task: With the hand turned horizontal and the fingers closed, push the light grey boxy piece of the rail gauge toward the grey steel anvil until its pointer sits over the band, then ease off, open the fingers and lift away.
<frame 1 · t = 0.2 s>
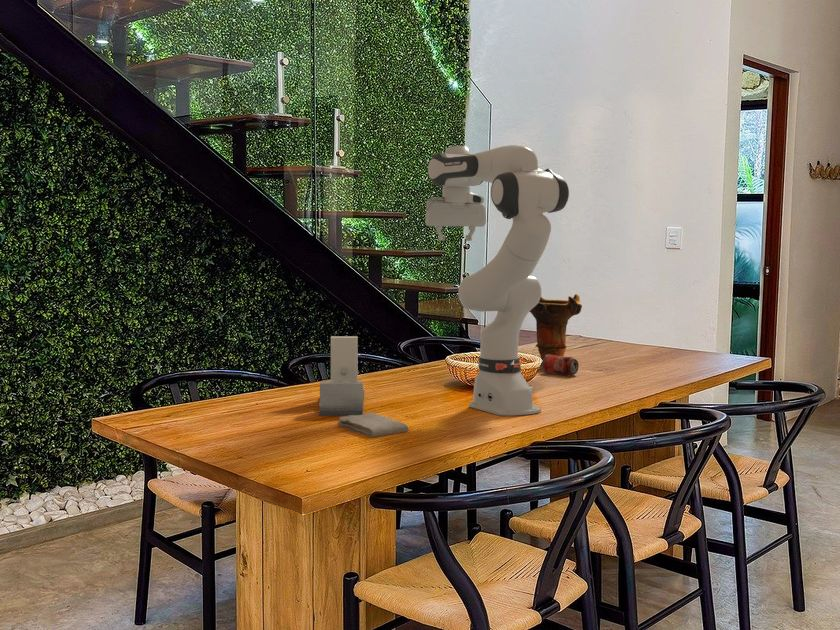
hand: (455, 240, 287), 48 cm above the table, tool pointing down, fingers open, 8 cm apart
washcloth: (371, 430, 233), on the table
decorative vase: (550, 361, 351), on the table
light grey boxy piece: (340, 365, 269), point 11 cm above the table, slide at 0.0 cm
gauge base: (343, 404, 262), on the table
beverage can: (561, 375, 320), on the table
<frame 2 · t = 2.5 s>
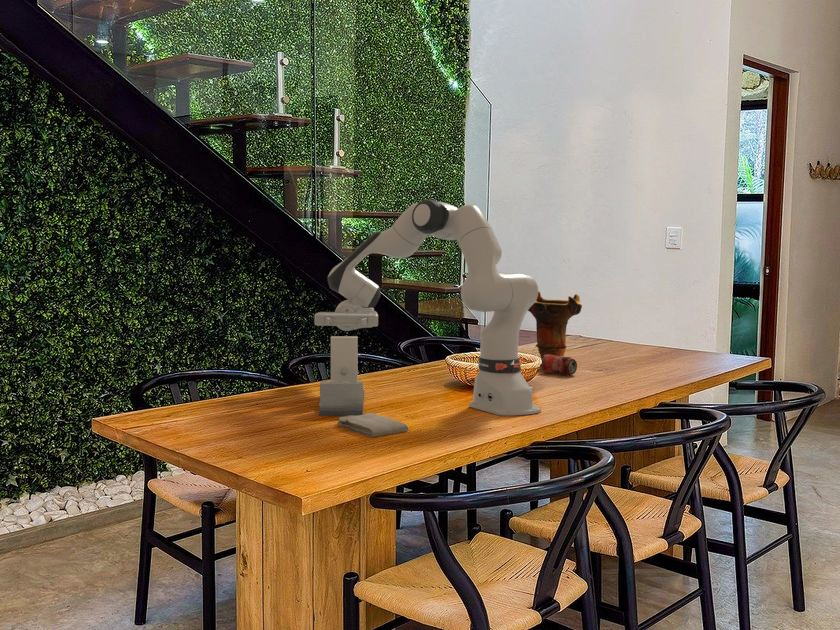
hand: (345, 322, 276), 23 cm above the table, tool horizontal, fingers open, 8 cm apart
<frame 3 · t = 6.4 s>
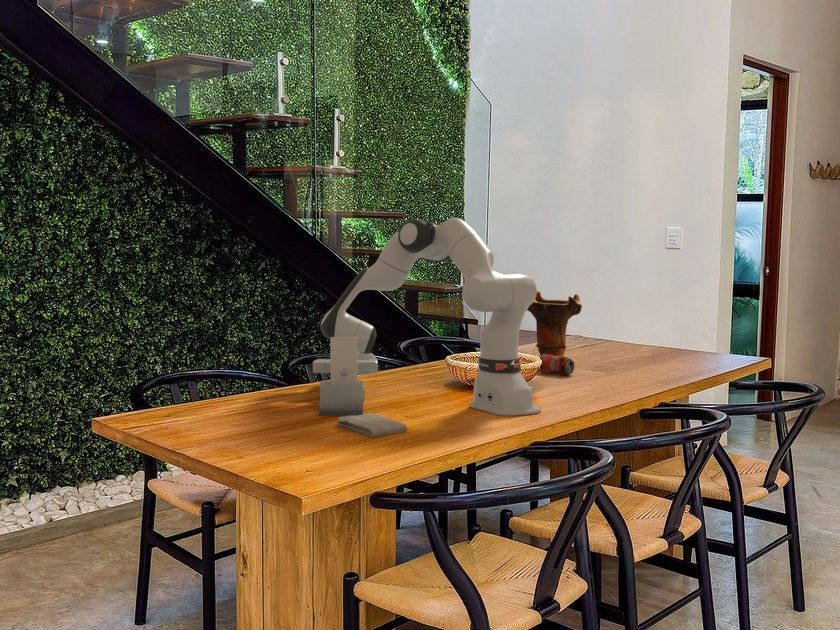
hand: (344, 370, 270), 9 cm above the table, tool horizontal, fingers closed, pressing on light grey boxy piece
light grey boxy piece: (340, 365, 268), point 11 cm above the table, slide at 1.6 cm, touching gripper
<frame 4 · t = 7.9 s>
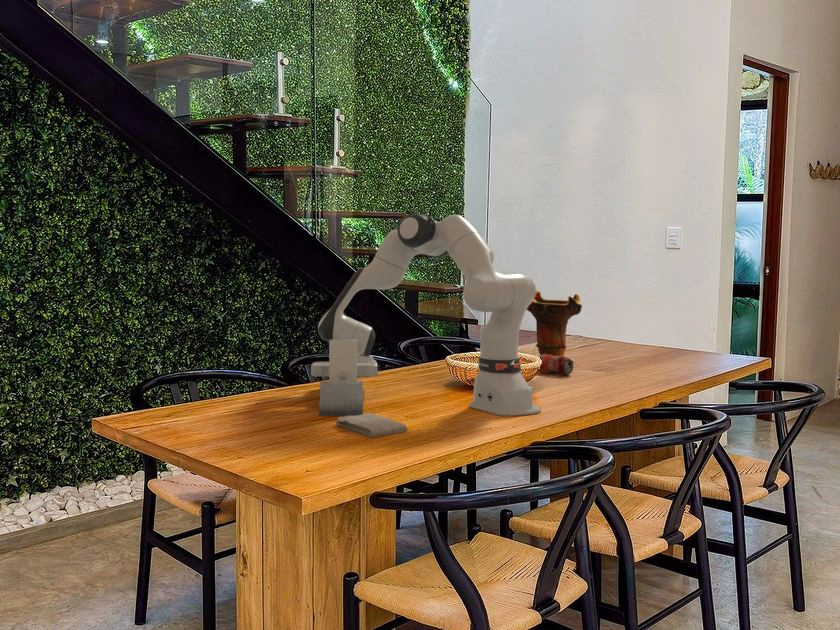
hand: (343, 373, 264), 9 cm above the table, tool horizontal, fingers closed, pressing on light grey boxy piece
light grey boxy piece: (339, 369, 262), point 11 cm above the table, slide at 7.8 cm, touching gripper
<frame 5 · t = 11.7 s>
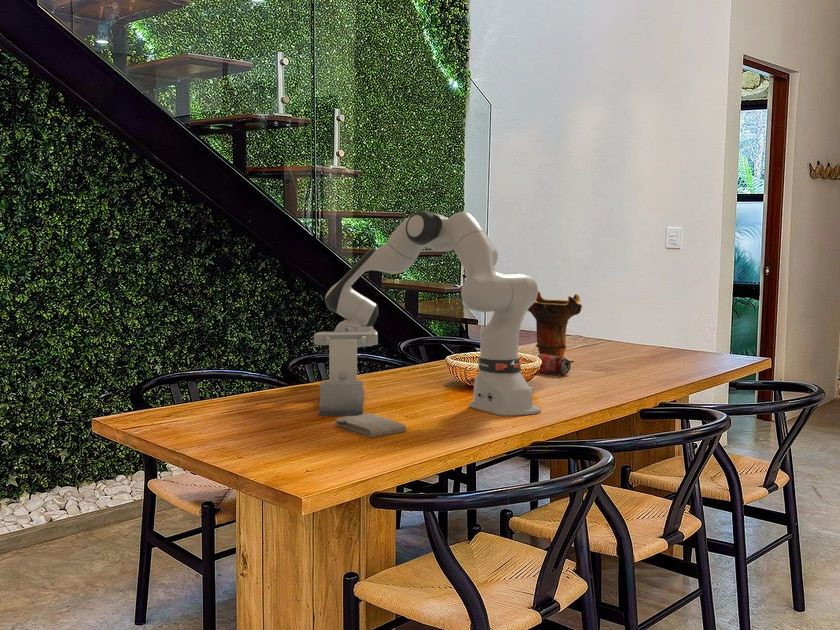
hand: (345, 341, 276), 17 cm above the table, tool horizontal, fingers open, 8 cm apart
light grey boxy piece: (339, 369, 262), point 11 cm above the table, slide at 7.8 cm
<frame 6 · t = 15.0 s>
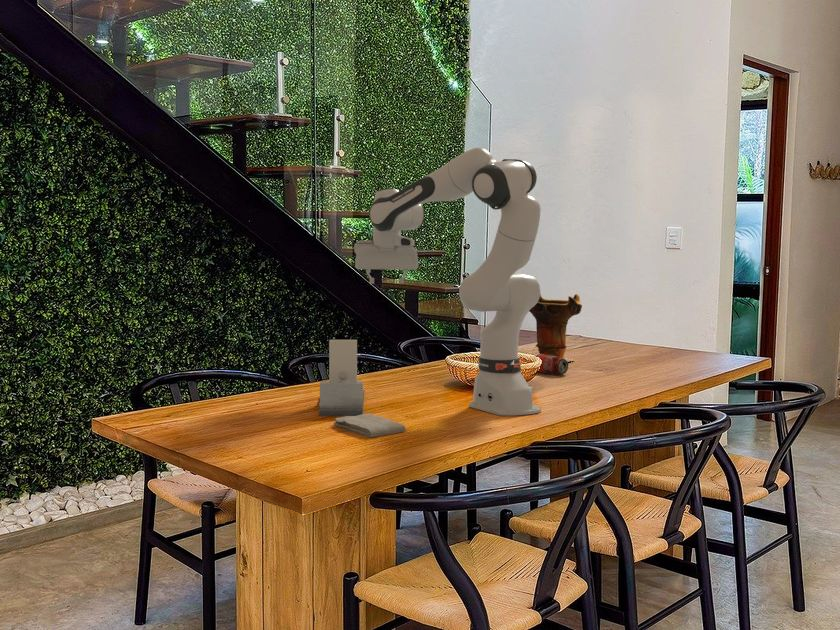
hand: (386, 283, 285), 34 cm above the table, tool pointing down, fingers open, 8 cm apart
at the end: light grey boxy piece slide at 7.8 cm; the gripper is holding nothing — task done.
